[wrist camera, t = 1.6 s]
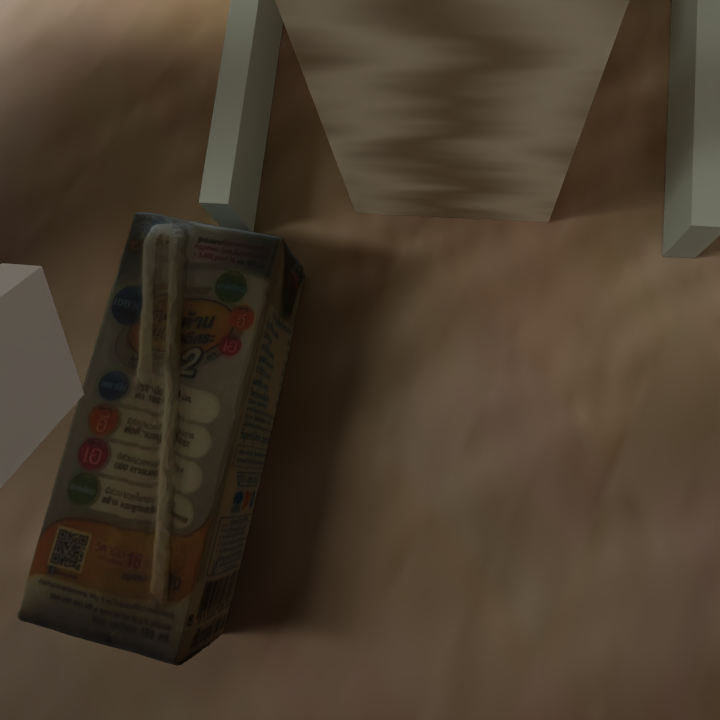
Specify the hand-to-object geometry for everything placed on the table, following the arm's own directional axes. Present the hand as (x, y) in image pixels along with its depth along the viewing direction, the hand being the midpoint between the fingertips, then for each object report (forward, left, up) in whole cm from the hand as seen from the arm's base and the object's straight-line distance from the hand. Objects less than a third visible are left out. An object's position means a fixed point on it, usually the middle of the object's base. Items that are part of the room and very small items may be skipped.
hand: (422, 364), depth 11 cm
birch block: (-5, +12, -22) cm, 25 cm away
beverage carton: (-11, -5, -22) cm, 26 cm away
